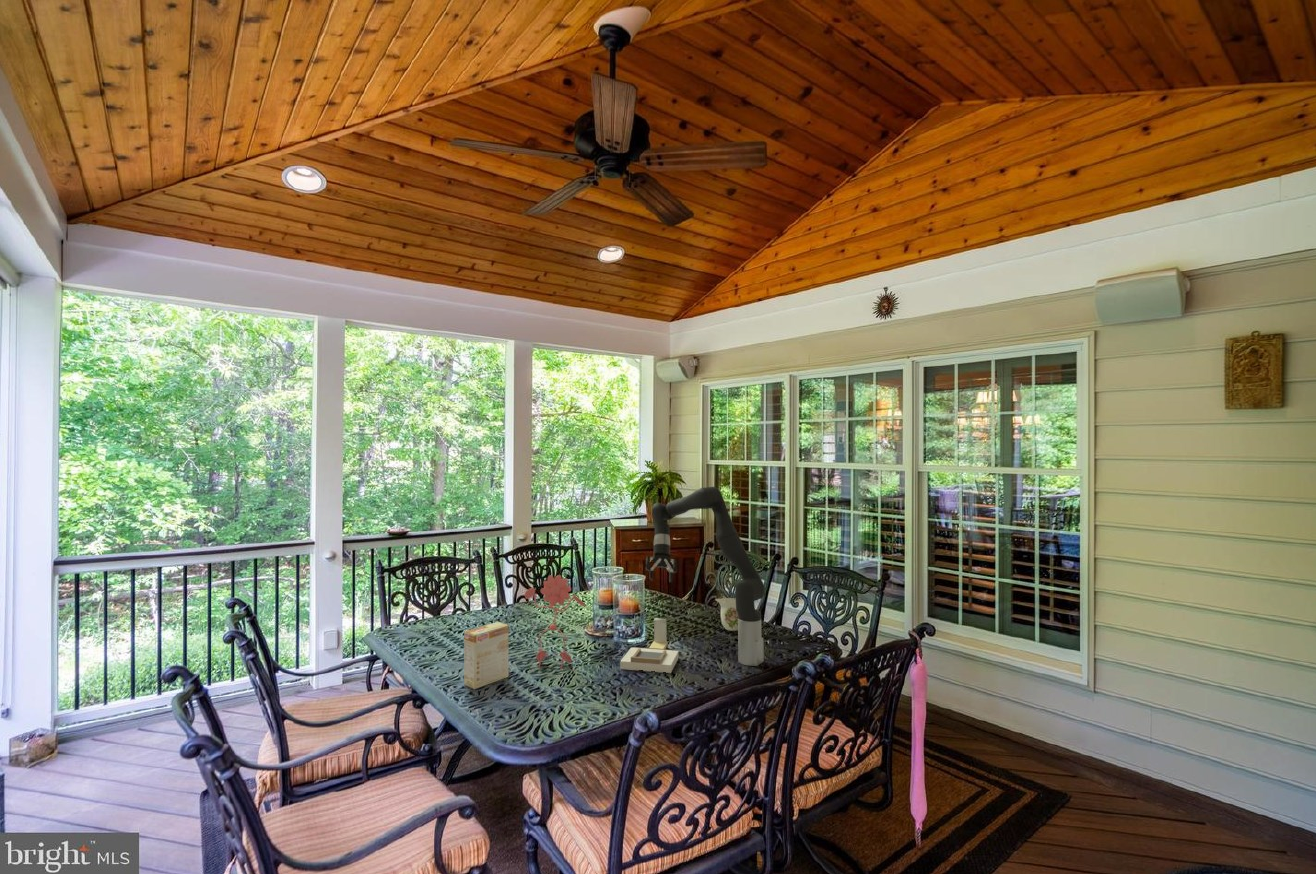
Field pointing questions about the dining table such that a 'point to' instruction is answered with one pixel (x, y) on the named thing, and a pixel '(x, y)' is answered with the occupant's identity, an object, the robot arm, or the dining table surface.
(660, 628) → the beige l-shaped block
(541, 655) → the red stick figure
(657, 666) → the dock
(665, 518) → the robot arm
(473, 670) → the coffeecake box
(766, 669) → the dining table surface
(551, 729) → the dining table surface
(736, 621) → the pitcher
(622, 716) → the dining table surface
